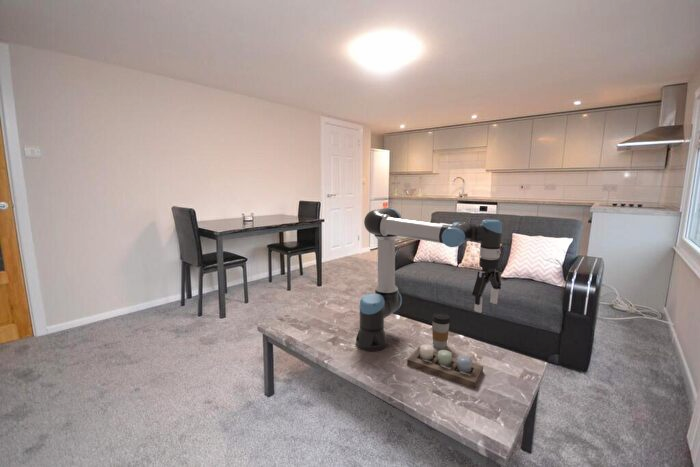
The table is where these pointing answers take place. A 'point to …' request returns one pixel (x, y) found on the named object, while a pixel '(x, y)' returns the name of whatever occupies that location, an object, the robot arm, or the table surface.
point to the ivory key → (426, 352)
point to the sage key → (444, 357)
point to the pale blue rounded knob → (464, 363)
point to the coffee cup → (440, 329)
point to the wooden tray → (446, 369)
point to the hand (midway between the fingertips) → (485, 307)
